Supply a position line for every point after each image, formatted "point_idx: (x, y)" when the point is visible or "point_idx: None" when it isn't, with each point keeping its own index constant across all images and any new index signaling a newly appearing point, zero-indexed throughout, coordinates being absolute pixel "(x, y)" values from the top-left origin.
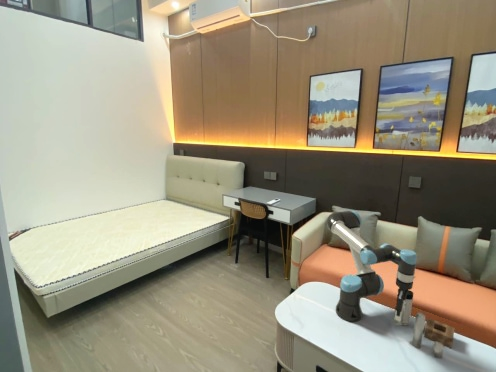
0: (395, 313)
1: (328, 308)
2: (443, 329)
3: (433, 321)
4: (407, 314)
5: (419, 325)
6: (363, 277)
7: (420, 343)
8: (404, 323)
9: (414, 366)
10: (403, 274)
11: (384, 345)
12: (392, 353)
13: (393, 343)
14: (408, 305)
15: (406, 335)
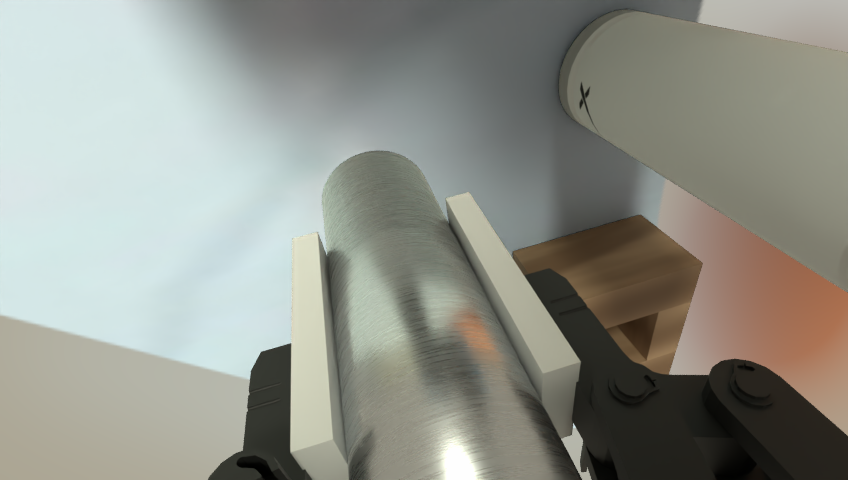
0: (348, 276)
1: None
2: (633, 332)
3: (673, 300)
4: (646, 163)
5: None
6: None
7: None
8: (569, 109)
9: (161, 350)
10: None
11: (92, 125)
12: (88, 220)
13: (222, 163)
14: (754, 231)
15: (434, 177)
